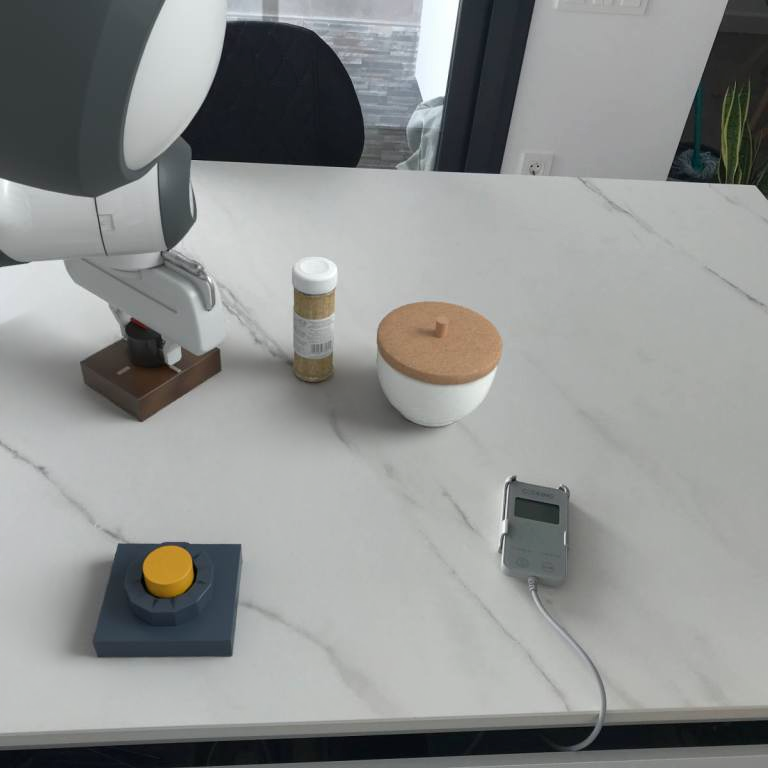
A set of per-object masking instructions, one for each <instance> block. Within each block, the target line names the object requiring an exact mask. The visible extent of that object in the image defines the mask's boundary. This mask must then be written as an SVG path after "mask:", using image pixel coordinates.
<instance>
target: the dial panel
mask: <svg viewBox="0 0 768 768" xmlns="http://www.w3.org/2000/svg"><path fill="white" fill-rule="evenodd" d="M181 355H182V357H181V359H180V360H179V361H178V362H176V363H174V364H173V365H168V364H167V363H165V364H163V365H160V366H157V367H140V366H137V365H135V364H134V363H132V361H131V360H130V358H129V353H128V347H127V341H126V338H125V337H122V338H120V339H118V340H117V341H115V342H113V343H111V344H109V345H107V346H105V347H104V348H102V349H100V350H98V351H96V352H95V353H92V354H91V355H89V356H87V357H86V358H84V359H82V360H80V361H79V364H80V370H81V374H82V378H83V383H84V385H86V386H87V387H89V388H90V389H92V390H93V391H95V392H96V393H97V394H99V395H100V396H102V397H104V398H105V399H107V400H108V401H109V402H111V403H113V404H114V405H116V406H117V407H119V408H120V409H121V410H124V411H125V412H126V413H128V414H129V415H131V416H132V417H134V418H136V419H137V420H139V421H140V422H141V423H142V422H145V421H146V420H147V419H149V418H150V417H152V416H154V415H155V414H156V413H158V412H160V411H162V410H163V409H165V408H167V406H169V405H171V404H172V403H173V402H175V401H177V400H178V399H179V398H182V397H183V396H185V395H187V393H189V392H190V391H192V390H194V389H195V388H197V387H199V386H200V385H201V384H203V383H205V382H207V381H208V380H209V379H211V378H212V377H214V376H215V375H217V374H219V373H220V372H221V371H222V358H221V348H219V347H218V346H217V347H215V348H214V349H212V350H210V351H208V352H207V353H205V354H203V355H200V356H197V355H194V354H193V353H191V352H189V351H188V350H186V349H184V348H183V347H181Z"/></svg>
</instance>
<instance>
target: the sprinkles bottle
mask: <svg viewBox="0 0 768 768" xmlns="http://www.w3.org/2000/svg"><path fill="white" fill-rule="evenodd" d="M291 284H292V287H293V306H292V307H293V308H292V315H293V316H292V321H293V322H292V325H293V327H292V329H293V332H292V333H293V335H292V336H293V337H292V338H293V343H292V347H293V364H292V371H293V374H294V375H295V377H297V379H300V380H301V381H305V382H308V383H319V382H322V381H325V380H328V378H330V377H331V376H332V375H333V372H334V363H333V359H334V344H335V343H334V341H335V317H336V315H335V313H336V312H335V311H336V289H337V285H338V267H337V265H336V264H335V263H334V262H333V261H332V260H330V259H328V258H327V257H326V258H325V257H321V256H307V257H306V256H305V257H303V258H300V259H298V260H297V261H296V262H294V264H293V265H292V268H291Z"/></svg>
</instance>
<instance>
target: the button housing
mask: <svg viewBox="0 0 768 768" xmlns="http://www.w3.org/2000/svg"><path fill="white" fill-rule="evenodd" d="M164 546H178V547H181V548H183V549H185V550H186V551H187V552H188V553H189V554H190V556H191V559H192V565H193V572H194V578H193V582H192V584H191V586H190V587H189V588H188V589H187V590H186V591H185V592H184V593H182V594H180V595H178V596H176V597H172V598H160V597H157V596H155V595H153V594H152V593H150V592H149V590H148V589H147V587H146V583H145V578H144V573H143V564H144V561H145V559H146V558H147V556H148V555H149V554H150V553H151V552H153V551H154V550H156V549H158V548H160V547H164ZM242 567H243V549H242V543H190V542H187V541H162V542H160V543H133V542H131V543H129V542H127V543H123V542H122V543H120V542H119V543H117V546H116V550H115V553H114V557H113V561H112V565H111V569H110V573H109V577H108V581H107V584H106V589H105V592H104V596H103V599H102V604H101V608H100V611H99V615H98V619H97V623H96V627H95V631H94V634H93V639H92V644H93V647H94V650H95V654H96V657H97V658H168V657H170V658H171V657H172V658H174V657H178V658H179V657H180V658H181V657H183V658H184V657H187V658H188V657H189V658H190V657H233V654H234V647H235V646H234V645H235V644H234V643H235V635H236V626H237V616H238V615H237V614H238V607H239V597H240V587H241V579H242V578H241V577H242Z"/></svg>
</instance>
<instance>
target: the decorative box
mask: <svg viewBox="0 0 768 768" xmlns="http://www.w3.org/2000/svg"><path fill="white" fill-rule="evenodd" d="M376 346H377V347H376V367H377V368H376V371H377V375H378V380H379V384H380V387H381V389H382V392H383V394H384V396H385V397H386V398H387V400H388V402H389V403H390V404H391V406H393V407H394V408H395V409H396V410H397V411H398V412H399V413H400V414H401V415H402V416H403V417H404V418H405V419H406V420H408V421H410V422H412V423H414V424H415V425H419V426H424V427H431V428H439V427H445V426H449V425H451V424H453V423H455V422H456V421H458V420H461V419H463V418H465V417H467V416H468V415H470V414H471V413H473V412H474V411H475V410H476V409H478V407H479V406H480V405H481V403H482V402H483V401H484V400H485V398H486V397H487V395H488V393H489V392H490V390H491V387H492V385H493V382H494V379H495V377H496V374H497V369H498V366H499V363H500V360H501V358H502V353H503V339H502V336H501V334H500V332H499V331H498V329H497V328H496V327H495V325H494V324H493V323H492V322H491V321H490V320H489V319H487V318H486V317H485V316H483V315H481V313H479V312H477V311H474V310H472V309H470V308H467V307H465V306H462V305H459V304H455V303H450V302H445V301H418V302H411V303H408V304H404V305H402V306H399V307H397V308H395V309H392V310H391V311H390V312H388V313H387V314H386V315H385V316H384V317H383V318H382V319H381V321H380V322H379V323H378V327H377V330H376Z"/></svg>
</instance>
